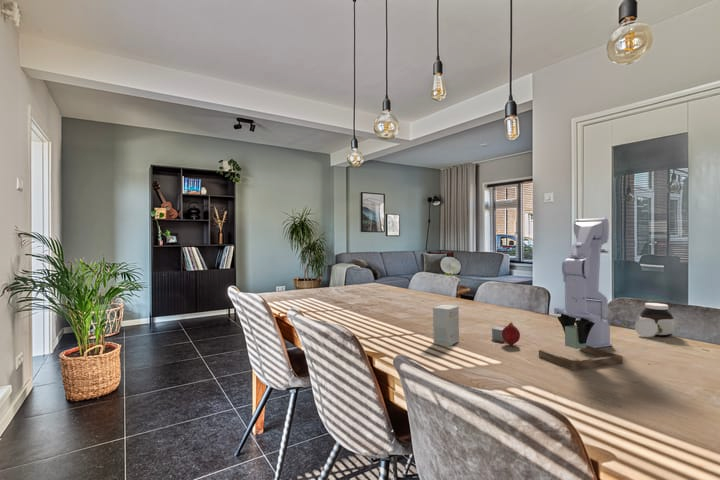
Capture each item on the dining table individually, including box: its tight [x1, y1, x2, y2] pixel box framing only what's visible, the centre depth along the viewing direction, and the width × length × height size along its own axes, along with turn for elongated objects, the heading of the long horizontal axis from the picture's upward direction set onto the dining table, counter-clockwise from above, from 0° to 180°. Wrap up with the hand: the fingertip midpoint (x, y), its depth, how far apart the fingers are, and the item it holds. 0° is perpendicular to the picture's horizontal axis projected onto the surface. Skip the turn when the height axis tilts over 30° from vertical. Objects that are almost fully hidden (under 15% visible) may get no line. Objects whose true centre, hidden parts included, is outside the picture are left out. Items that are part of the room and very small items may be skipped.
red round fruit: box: [502, 321, 521, 346], centre depth 127 cm, size 6×6×8 cm
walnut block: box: [538, 345, 623, 371], centre depth 112 cm, size 18×13×2 cm
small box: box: [432, 304, 460, 347], centre depth 131 cm, size 8×6×13 cm
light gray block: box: [491, 326, 505, 342], centre depth 135 cm, size 4×4×4 cm
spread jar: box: [634, 302, 675, 338], centre depth 137 cm, size 12×11×12 cm
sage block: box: [564, 324, 586, 350], centre depth 113 cm, size 4×4×6 cm
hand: (576, 341), depth 113 cm, fingers closed on sage block, 4 cm apart
